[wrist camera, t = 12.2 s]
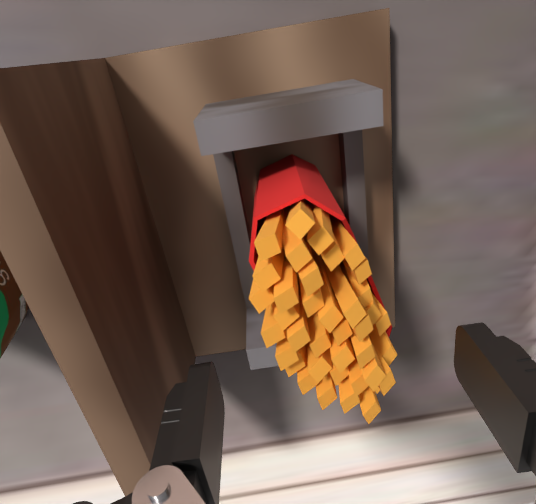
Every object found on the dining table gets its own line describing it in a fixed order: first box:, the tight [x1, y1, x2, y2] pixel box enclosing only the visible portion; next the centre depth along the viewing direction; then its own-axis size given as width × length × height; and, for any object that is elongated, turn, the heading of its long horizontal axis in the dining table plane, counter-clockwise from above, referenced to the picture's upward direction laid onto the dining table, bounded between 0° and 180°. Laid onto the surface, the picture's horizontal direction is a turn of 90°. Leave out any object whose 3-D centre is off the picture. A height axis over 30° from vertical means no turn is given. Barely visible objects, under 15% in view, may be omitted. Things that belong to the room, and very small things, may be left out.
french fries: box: [249, 154, 397, 424], centre depth 19 cm, size 9×4×13 cm, turn 26°
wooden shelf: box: [0, 8, 395, 497], centre depth 21 cm, size 17×20×12 cm
